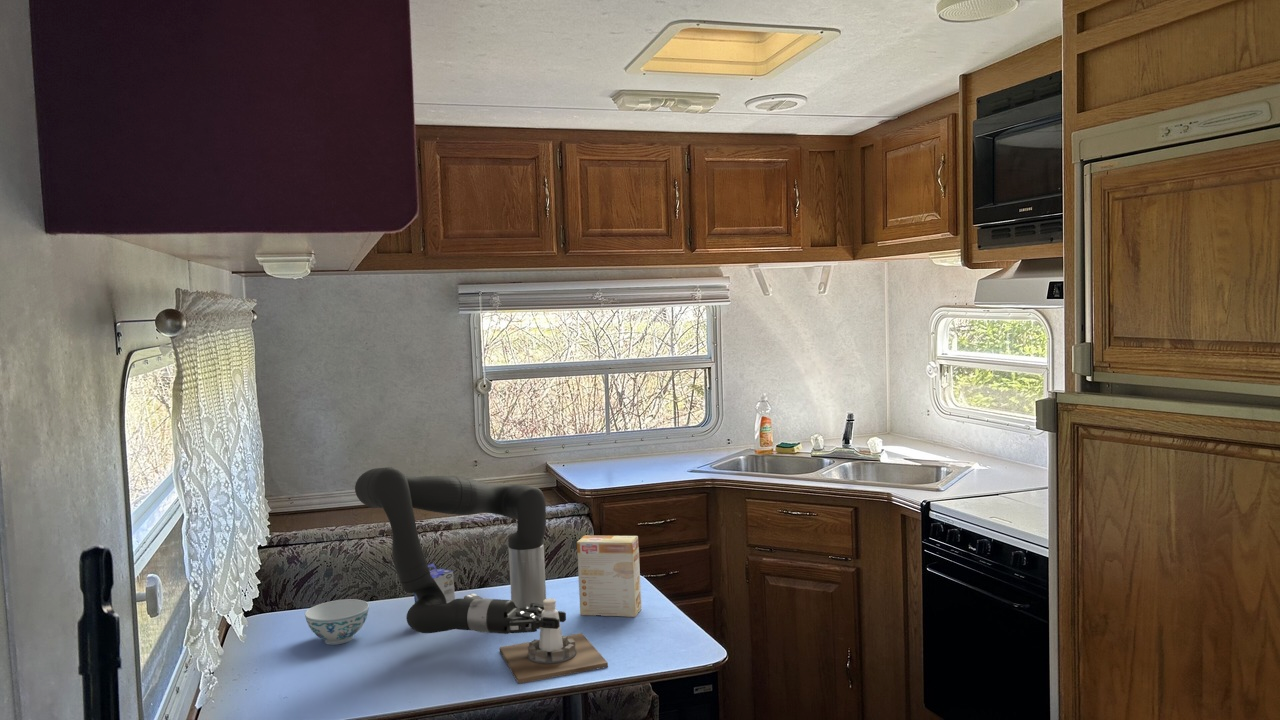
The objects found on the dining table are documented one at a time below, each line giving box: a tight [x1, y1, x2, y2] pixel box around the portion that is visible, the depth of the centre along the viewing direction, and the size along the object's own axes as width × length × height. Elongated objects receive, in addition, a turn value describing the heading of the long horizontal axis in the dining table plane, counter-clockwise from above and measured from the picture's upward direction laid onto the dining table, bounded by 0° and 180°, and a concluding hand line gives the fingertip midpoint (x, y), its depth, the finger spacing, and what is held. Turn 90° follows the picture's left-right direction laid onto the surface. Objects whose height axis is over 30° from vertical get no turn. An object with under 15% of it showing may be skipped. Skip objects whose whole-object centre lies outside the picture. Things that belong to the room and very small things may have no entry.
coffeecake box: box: [576, 535, 642, 618], centre depth 231 cm, size 15×7×20 cm, turn 77°
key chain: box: [463, 593, 484, 599], centre depth 244 cm, size 13×4×2 cm, turn 43°
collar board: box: [499, 632, 609, 684], centre depth 201 cm, size 20×20×4 cm
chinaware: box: [304, 598, 370, 646], centre depth 219 cm, size 15×15×8 cm
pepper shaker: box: [539, 598, 563, 652], centre depth 201 cm, size 5×5×11 cm
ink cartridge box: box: [413, 563, 456, 604], centre depth 230 cm, size 10×6×14 cm, turn 148°
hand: (561, 620), depth 200 cm, fingers closed on pepper shaker, 3 cm apart
